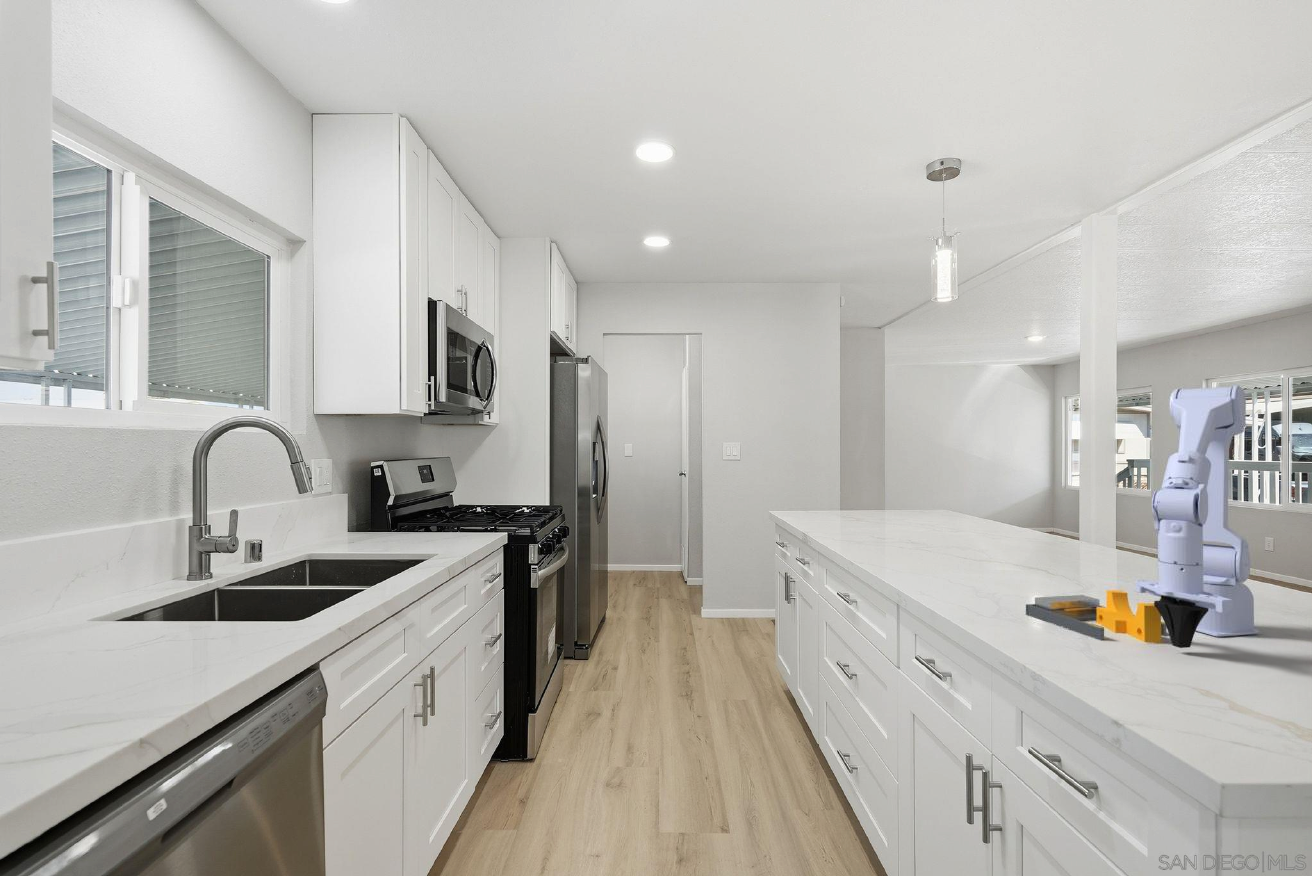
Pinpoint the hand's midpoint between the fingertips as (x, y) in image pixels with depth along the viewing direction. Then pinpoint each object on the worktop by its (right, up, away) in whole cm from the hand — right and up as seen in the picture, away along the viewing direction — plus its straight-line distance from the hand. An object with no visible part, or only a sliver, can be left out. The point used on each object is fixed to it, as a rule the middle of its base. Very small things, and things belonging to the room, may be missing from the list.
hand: (1181, 646), depth 105 cm
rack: (-3, -1, +17) cm, 17 cm away
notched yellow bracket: (0, -2, +12) cm, 12 cm away
